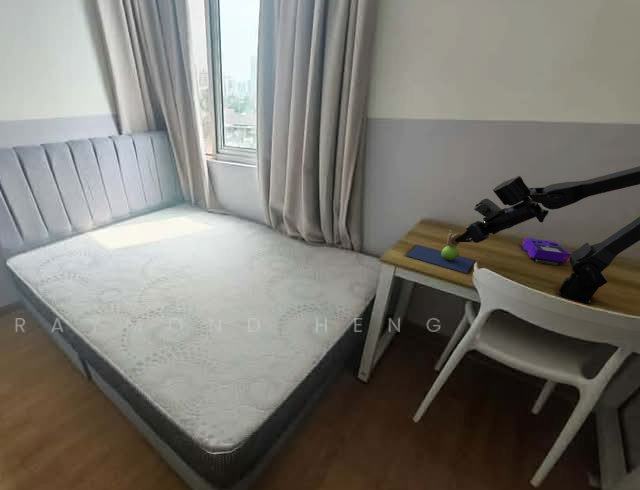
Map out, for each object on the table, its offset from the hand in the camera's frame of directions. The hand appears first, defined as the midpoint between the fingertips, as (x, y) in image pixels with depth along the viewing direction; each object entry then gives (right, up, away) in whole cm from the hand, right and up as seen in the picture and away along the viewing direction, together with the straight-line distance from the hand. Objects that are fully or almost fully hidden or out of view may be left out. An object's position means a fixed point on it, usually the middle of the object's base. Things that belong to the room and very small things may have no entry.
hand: (462, 237), depth 108 cm
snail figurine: (-1, -7, +7) cm, 10 cm away
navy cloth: (-2, -7, +8) cm, 11 cm away
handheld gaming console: (+36, -6, +8) cm, 37 cm away
